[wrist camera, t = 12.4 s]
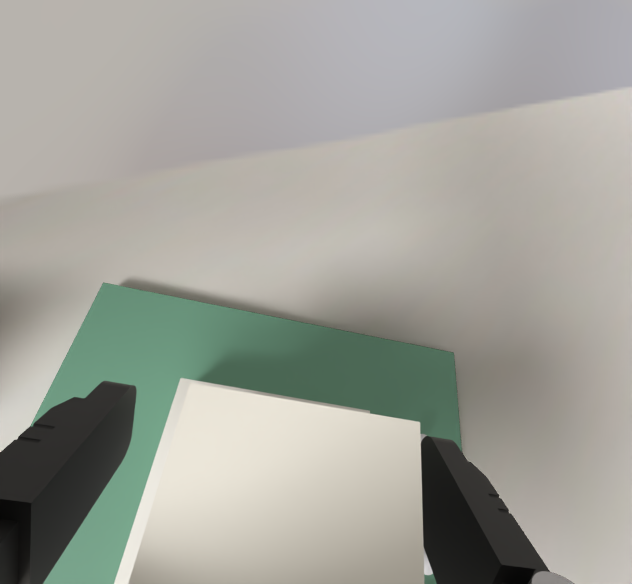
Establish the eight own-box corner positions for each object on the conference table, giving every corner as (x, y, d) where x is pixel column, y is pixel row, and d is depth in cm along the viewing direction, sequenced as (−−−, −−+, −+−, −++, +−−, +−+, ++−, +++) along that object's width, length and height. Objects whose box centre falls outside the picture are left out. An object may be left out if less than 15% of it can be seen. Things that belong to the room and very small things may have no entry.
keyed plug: (187, 562, 12) (74, 758, 4) (217, 441, 14) (189, 382, 6) (298, 575, 13) (429, 775, 4) (312, 456, 15) (420, 421, 6)
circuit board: (-87, 694, 10) (-194, 765, 8) (110, 292, 17) (87, 259, 15) (468, 731, 12) (529, 797, 10) (444, 358, 19) (476, 339, 17)
